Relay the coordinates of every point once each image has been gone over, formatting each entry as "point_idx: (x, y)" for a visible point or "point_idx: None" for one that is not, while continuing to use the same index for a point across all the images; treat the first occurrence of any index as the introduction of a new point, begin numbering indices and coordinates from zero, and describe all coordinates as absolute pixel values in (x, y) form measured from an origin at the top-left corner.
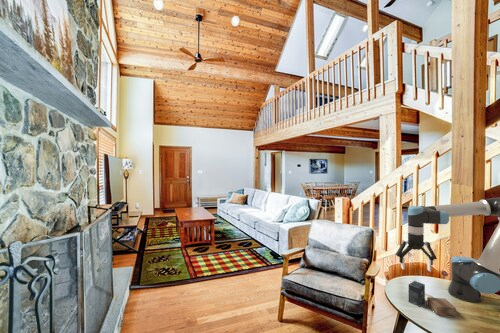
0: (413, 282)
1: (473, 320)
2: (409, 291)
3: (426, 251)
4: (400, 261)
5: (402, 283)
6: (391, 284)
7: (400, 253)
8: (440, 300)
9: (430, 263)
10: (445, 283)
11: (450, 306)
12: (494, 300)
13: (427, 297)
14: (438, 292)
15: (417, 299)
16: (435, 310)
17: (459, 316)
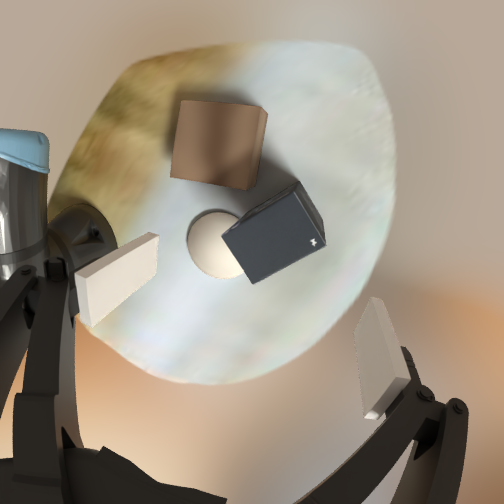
0: (277, 263)
1: (155, 92)
2: (322, 229)
3: (26, 362)
4: (412, 360)
5: (241, 353)
6: (292, 353)
7: (450, 435)
8: (202, 159)
9: (104, 260)
10: None
11: (195, 109)
12: None
13: (246, 189)
14: None
15: (302, 189)
16: (263, 122)
17: None
